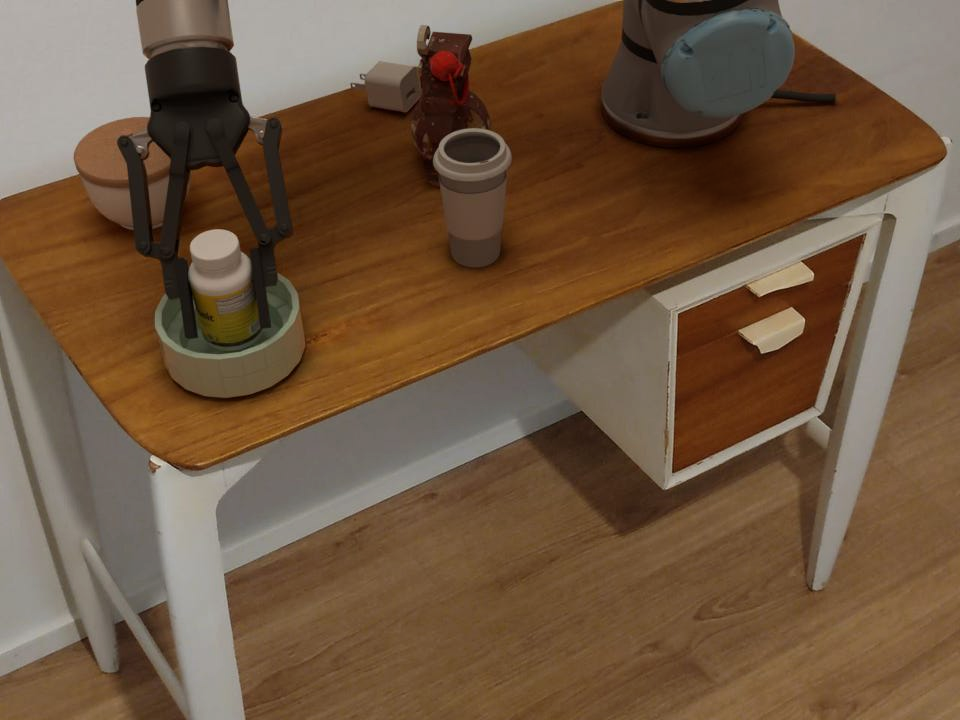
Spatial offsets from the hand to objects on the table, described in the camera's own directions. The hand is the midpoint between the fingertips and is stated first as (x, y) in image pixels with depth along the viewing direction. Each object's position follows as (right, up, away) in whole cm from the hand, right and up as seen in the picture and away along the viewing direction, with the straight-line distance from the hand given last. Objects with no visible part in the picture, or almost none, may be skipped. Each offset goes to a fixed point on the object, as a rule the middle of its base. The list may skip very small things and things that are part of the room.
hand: (228, 331), depth 108 cm
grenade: (+18, +18, +27) cm, 37 cm away
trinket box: (-12, +12, +22) cm, 28 cm away
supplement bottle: (-1, 0, +5) cm, 5 cm away
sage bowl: (-1, -2, +7) cm, 7 cm away
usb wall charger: (+10, +29, +33) cm, 45 cm away
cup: (+20, +8, +16) cm, 27 cm away
